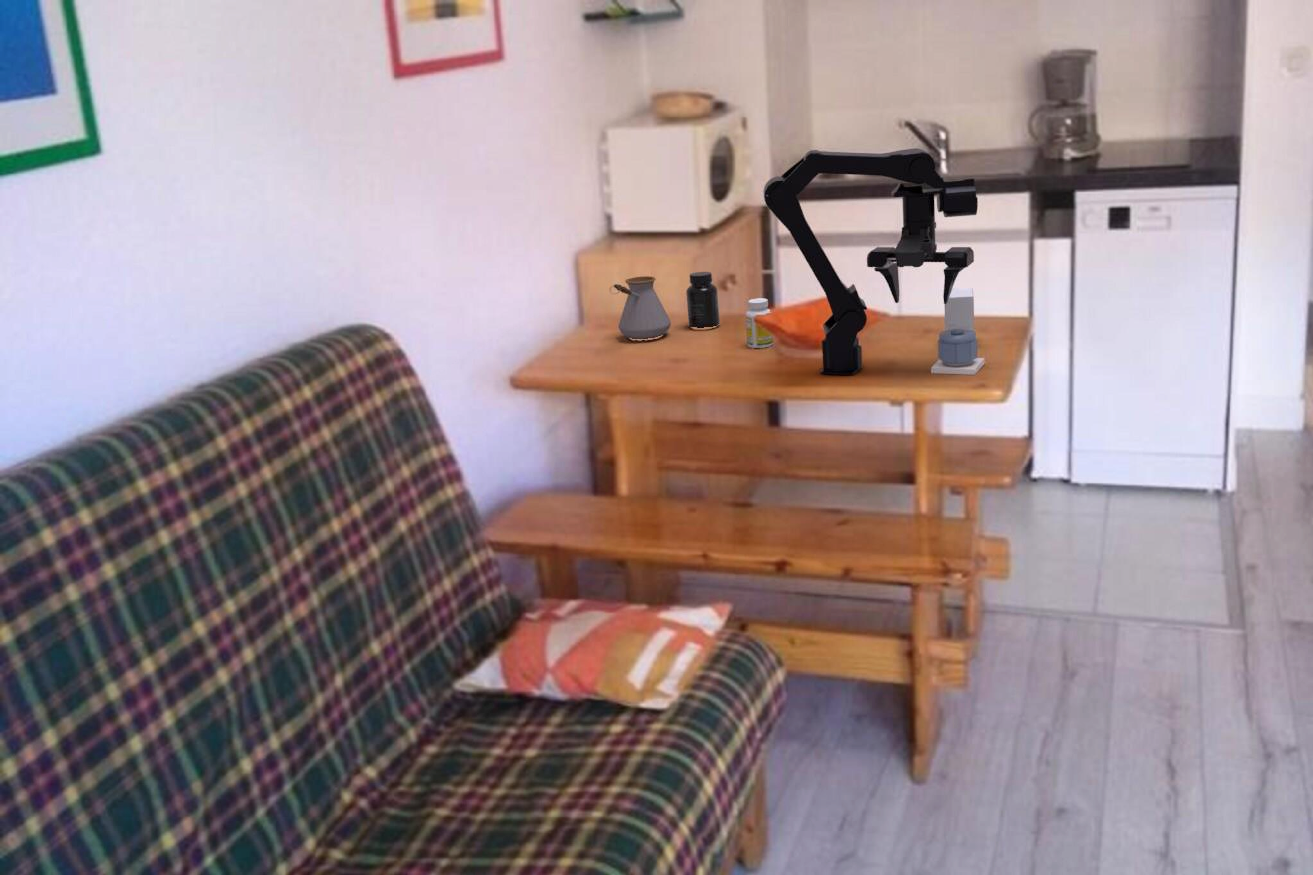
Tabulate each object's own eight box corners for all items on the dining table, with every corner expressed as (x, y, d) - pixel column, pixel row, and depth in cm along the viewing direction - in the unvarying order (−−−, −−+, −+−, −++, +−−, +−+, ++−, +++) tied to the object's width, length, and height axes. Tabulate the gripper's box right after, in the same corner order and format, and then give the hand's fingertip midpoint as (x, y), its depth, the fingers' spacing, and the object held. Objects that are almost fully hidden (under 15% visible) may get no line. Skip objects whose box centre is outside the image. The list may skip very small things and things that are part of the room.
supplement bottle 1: (703, 322, 308) (700, 269, 305) (726, 325, 304) (722, 272, 300) (682, 328, 304) (678, 275, 300) (705, 332, 299) (700, 278, 296)
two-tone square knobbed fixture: (931, 373, 253) (930, 346, 252) (942, 361, 260) (941, 336, 259) (974, 374, 250) (973, 348, 248) (984, 363, 256) (984, 337, 255)
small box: (974, 349, 267) (973, 296, 264) (945, 350, 268) (944, 297, 265) (973, 339, 274) (973, 287, 271) (945, 340, 275) (944, 288, 272)
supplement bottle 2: (743, 348, 283) (740, 302, 280) (754, 342, 287) (751, 297, 284) (766, 349, 280) (764, 303, 277) (777, 343, 285) (775, 297, 282)
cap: (935, 355, 257) (934, 328, 256) (969, 351, 258) (969, 324, 256) (945, 364, 251) (945, 336, 249) (980, 360, 251) (980, 332, 250)
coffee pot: (630, 330, 307) (624, 264, 302) (679, 330, 303) (673, 263, 298) (594, 355, 288) (587, 285, 283) (646, 356, 284) (639, 284, 279)
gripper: (855, 227, 248) (859, 312, 252) (958, 227, 240) (960, 314, 244) (874, 217, 257) (877, 298, 262) (973, 216, 249) (975, 300, 254)
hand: (921, 303), depth 255 cm, fingers open, 9 cm apart
